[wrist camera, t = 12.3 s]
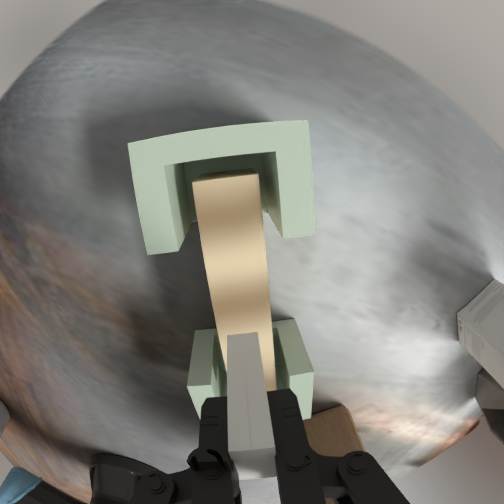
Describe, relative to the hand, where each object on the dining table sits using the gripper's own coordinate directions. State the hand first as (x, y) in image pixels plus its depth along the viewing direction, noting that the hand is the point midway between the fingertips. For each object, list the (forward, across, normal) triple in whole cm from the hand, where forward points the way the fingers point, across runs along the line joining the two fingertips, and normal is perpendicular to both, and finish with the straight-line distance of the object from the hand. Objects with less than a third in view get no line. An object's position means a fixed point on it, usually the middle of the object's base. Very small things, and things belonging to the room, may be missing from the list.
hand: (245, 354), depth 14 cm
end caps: (+10, 0, 0) cm, 10 cm away
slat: (+9, 0, 0) cm, 9 cm away
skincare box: (+10, +30, -10) cm, 33 cm away
